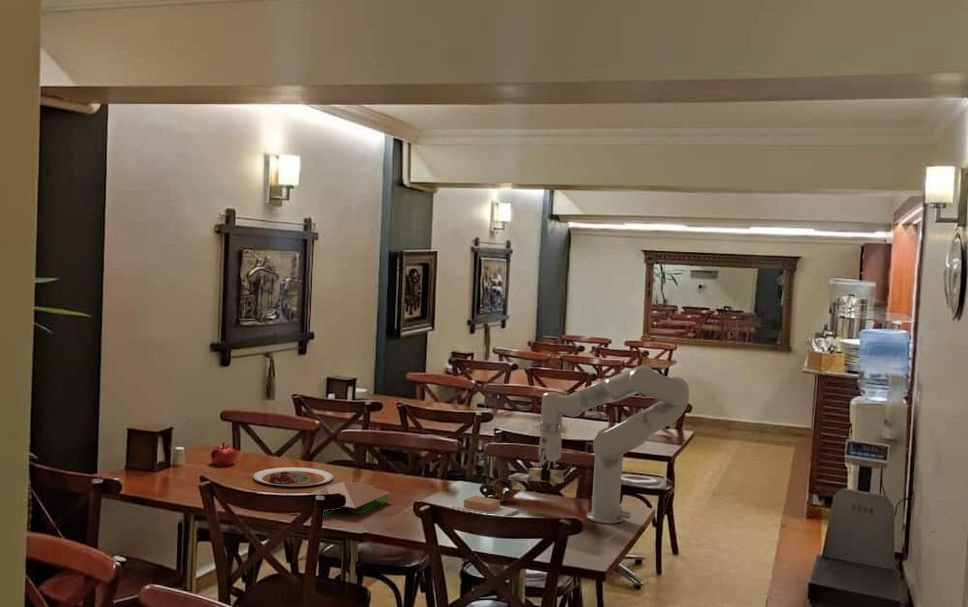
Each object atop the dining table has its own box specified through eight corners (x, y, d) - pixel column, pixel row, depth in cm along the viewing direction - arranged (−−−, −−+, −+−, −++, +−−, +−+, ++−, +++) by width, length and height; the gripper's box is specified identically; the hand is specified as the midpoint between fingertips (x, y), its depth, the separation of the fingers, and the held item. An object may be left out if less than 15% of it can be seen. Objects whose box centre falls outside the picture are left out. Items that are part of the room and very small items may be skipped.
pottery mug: (501, 495, 344) (510, 478, 340) (507, 512, 336) (517, 495, 333) (472, 490, 339) (481, 473, 336) (479, 507, 331) (488, 490, 328)
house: (393, 499, 330) (395, 477, 330) (347, 520, 299) (349, 496, 299) (338, 491, 338) (339, 469, 338) (287, 510, 308) (289, 486, 307)
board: (518, 512, 321) (518, 509, 321) (502, 519, 310) (502, 516, 310) (468, 502, 330) (468, 499, 330) (451, 509, 320) (451, 506, 319)
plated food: (341, 475, 366) (341, 467, 366) (320, 492, 336) (321, 483, 336) (268, 469, 369) (268, 461, 368) (241, 486, 339) (241, 477, 339)
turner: (565, 480, 323) (565, 469, 323) (557, 484, 316) (557, 472, 316) (517, 476, 331) (517, 465, 331) (508, 479, 325) (508, 468, 325)
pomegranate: (237, 462, 376) (239, 440, 375) (232, 467, 366) (233, 444, 365) (213, 461, 375) (214, 439, 375) (207, 466, 365) (208, 443, 365)
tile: (500, 500, 322) (474, 495, 327) (489, 504, 315) (464, 499, 319) (499, 507, 322) (474, 502, 327) (489, 511, 315) (463, 507, 320)
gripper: (551, 432, 313) (547, 485, 313) (569, 426, 327) (566, 477, 328) (531, 429, 316) (527, 482, 317) (550, 423, 330) (547, 474, 331)
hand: (547, 479), depth 322 cm, fingers closed on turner, 3 cm apart
